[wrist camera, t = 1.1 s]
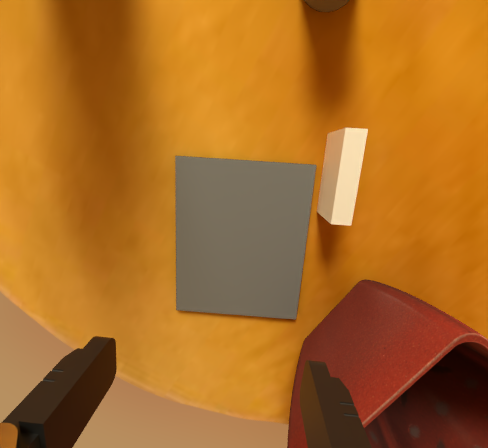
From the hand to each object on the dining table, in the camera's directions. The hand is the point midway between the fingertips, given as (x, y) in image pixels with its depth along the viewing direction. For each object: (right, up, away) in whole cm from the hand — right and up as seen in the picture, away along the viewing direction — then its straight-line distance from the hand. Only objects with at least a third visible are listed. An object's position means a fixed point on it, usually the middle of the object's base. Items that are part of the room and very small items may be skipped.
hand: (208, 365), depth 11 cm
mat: (+1, +4, +22) cm, 22 cm away
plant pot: (+18, -9, +25) cm, 32 cm away
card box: (+12, +12, +19) cm, 25 cm away
